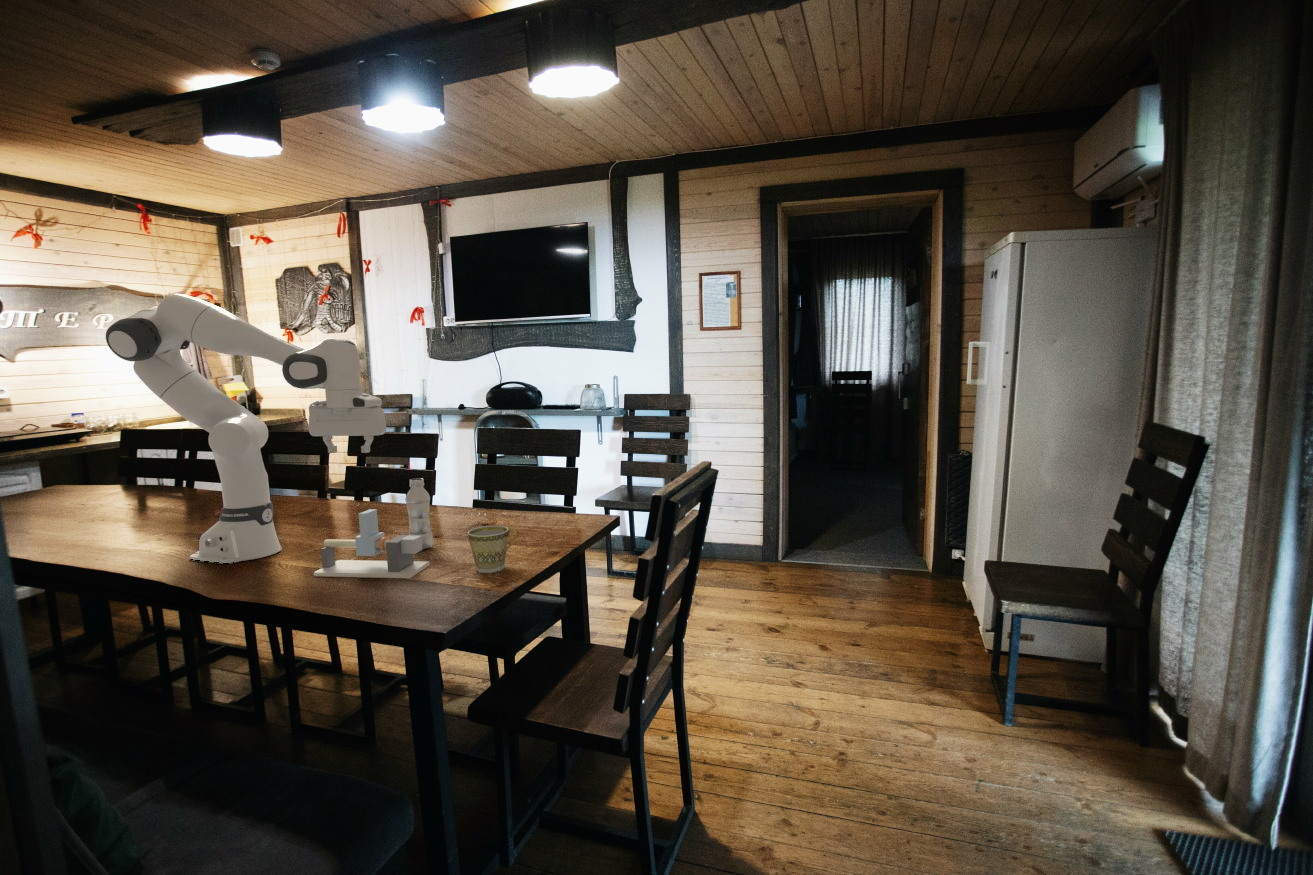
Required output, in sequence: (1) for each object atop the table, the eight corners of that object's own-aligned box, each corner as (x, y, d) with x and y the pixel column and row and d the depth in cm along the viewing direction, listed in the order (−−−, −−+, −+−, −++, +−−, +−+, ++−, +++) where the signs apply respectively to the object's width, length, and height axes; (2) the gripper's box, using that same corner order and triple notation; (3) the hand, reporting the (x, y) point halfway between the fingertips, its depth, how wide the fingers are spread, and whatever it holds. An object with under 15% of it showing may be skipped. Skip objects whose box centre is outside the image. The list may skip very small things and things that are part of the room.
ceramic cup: (476, 578, 155) (474, 538, 154) (465, 567, 164) (462, 529, 163) (527, 568, 162) (525, 529, 161) (514, 558, 171) (512, 521, 169)
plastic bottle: (426, 552, 178) (421, 481, 175) (404, 551, 179) (398, 481, 177) (438, 546, 184) (433, 477, 182) (417, 545, 185) (412, 477, 183)
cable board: (313, 576, 160) (310, 541, 159) (338, 563, 170) (335, 531, 169) (410, 578, 157) (407, 543, 156) (429, 565, 166) (427, 532, 165)
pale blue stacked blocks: (356, 555, 161) (352, 513, 159) (367, 550, 165) (364, 509, 164) (374, 556, 160) (371, 513, 159) (385, 550, 165) (382, 509, 163)
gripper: (300, 402, 167) (305, 454, 168) (374, 400, 164) (378, 454, 165) (316, 400, 173) (320, 451, 174) (387, 399, 170) (391, 450, 172)
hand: (349, 452), depth 170 cm, fingers open, 8 cm apart
